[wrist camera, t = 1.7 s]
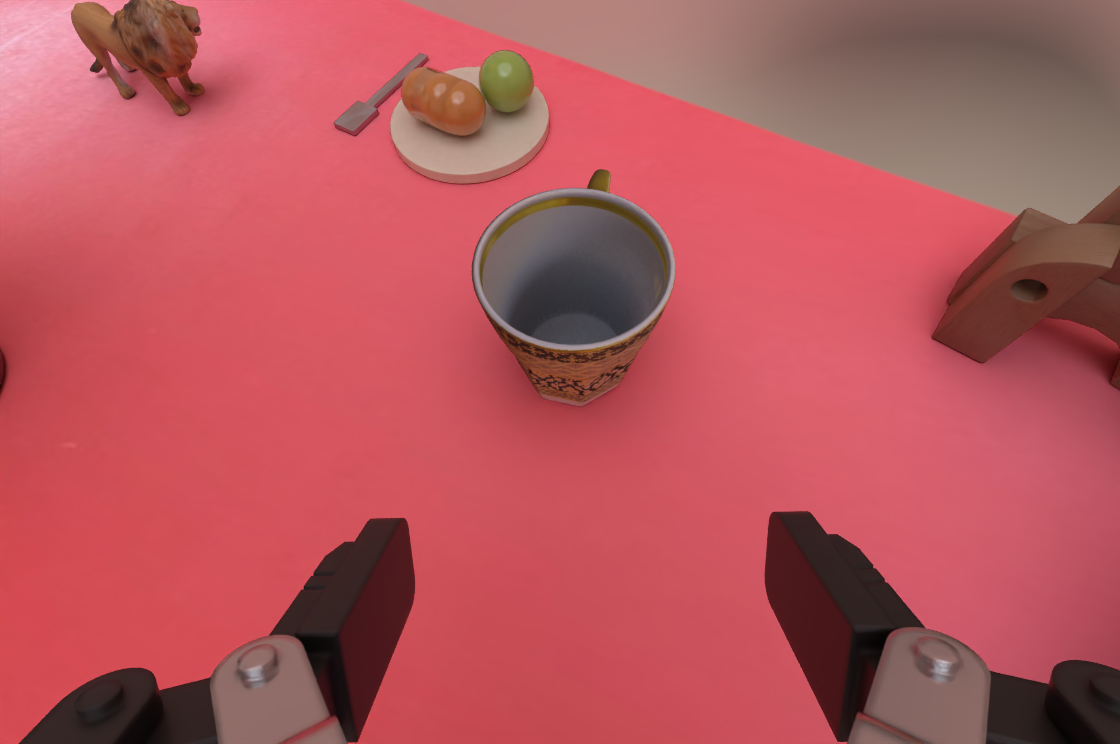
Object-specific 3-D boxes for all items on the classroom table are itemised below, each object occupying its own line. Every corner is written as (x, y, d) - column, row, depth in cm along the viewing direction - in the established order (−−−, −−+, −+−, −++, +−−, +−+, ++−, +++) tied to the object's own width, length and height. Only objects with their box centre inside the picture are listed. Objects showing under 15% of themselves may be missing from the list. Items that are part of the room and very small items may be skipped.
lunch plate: (361, 148, 46) (336, 88, 41) (453, 60, 51) (440, -3, 46) (493, 206, 43) (482, 149, 38) (577, 106, 48) (577, 44, 43)
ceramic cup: (636, 447, 33) (657, 370, 25) (477, 412, 35) (443, 326, 26) (669, 276, 39) (696, 163, 30) (532, 251, 41) (519, 135, 32)
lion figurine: (250, 86, 50) (189, -24, 42) (217, 126, 48) (145, 18, 40) (114, 59, 52) (30, -49, 44) (75, 96, 50) (-20, -12, 42)
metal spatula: (355, 136, 47) (353, 131, 46) (335, 127, 47) (332, 122, 47) (434, 61, 51) (433, 56, 50) (415, 54, 51) (413, 49, 51)
